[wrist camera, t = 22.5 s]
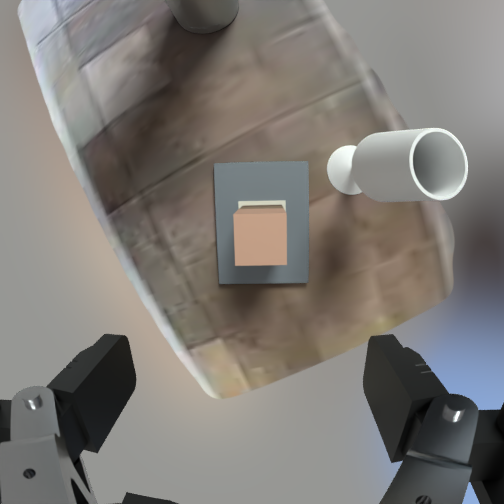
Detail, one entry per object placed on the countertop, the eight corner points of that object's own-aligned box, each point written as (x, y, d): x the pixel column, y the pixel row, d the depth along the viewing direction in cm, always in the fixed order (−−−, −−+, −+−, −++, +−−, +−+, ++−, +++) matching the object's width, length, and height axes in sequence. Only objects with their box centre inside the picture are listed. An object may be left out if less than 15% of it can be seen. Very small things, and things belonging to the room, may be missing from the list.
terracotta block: (238, 209, 36) (233, 214, 31) (283, 208, 36) (286, 213, 31) (239, 253, 37) (235, 265, 32) (284, 252, 37) (286, 265, 32)
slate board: (215, 164, 42) (213, 163, 40) (307, 161, 41) (308, 161, 40) (220, 281, 45) (219, 284, 44) (307, 279, 45) (308, 283, 43)
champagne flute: (375, 148, 40) (479, 125, 17) (372, 197, 42) (474, 220, 18) (328, 142, 41) (396, 103, 17) (325, 192, 42) (391, 209, 19)
